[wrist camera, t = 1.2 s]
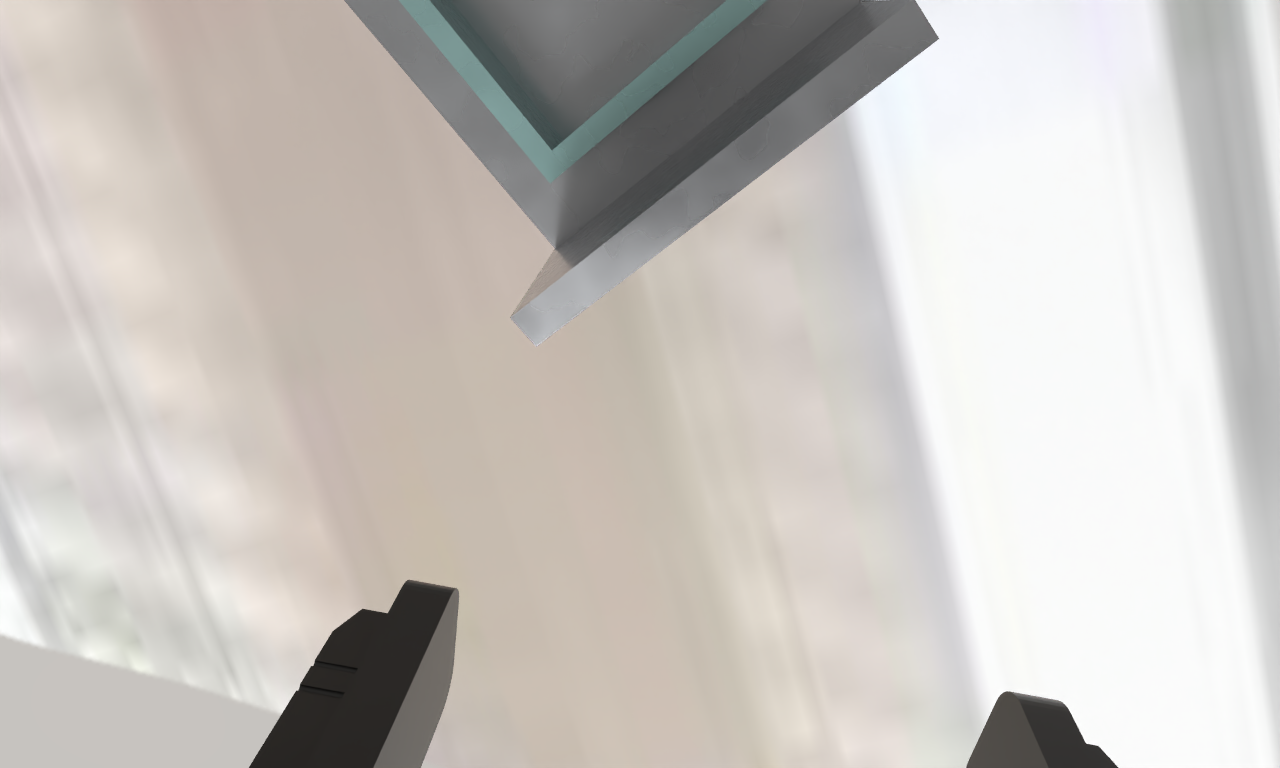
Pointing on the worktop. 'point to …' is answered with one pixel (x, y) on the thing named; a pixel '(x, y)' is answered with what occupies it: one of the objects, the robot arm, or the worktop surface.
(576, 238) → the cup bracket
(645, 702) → the worktop surface
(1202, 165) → the worktop surface
